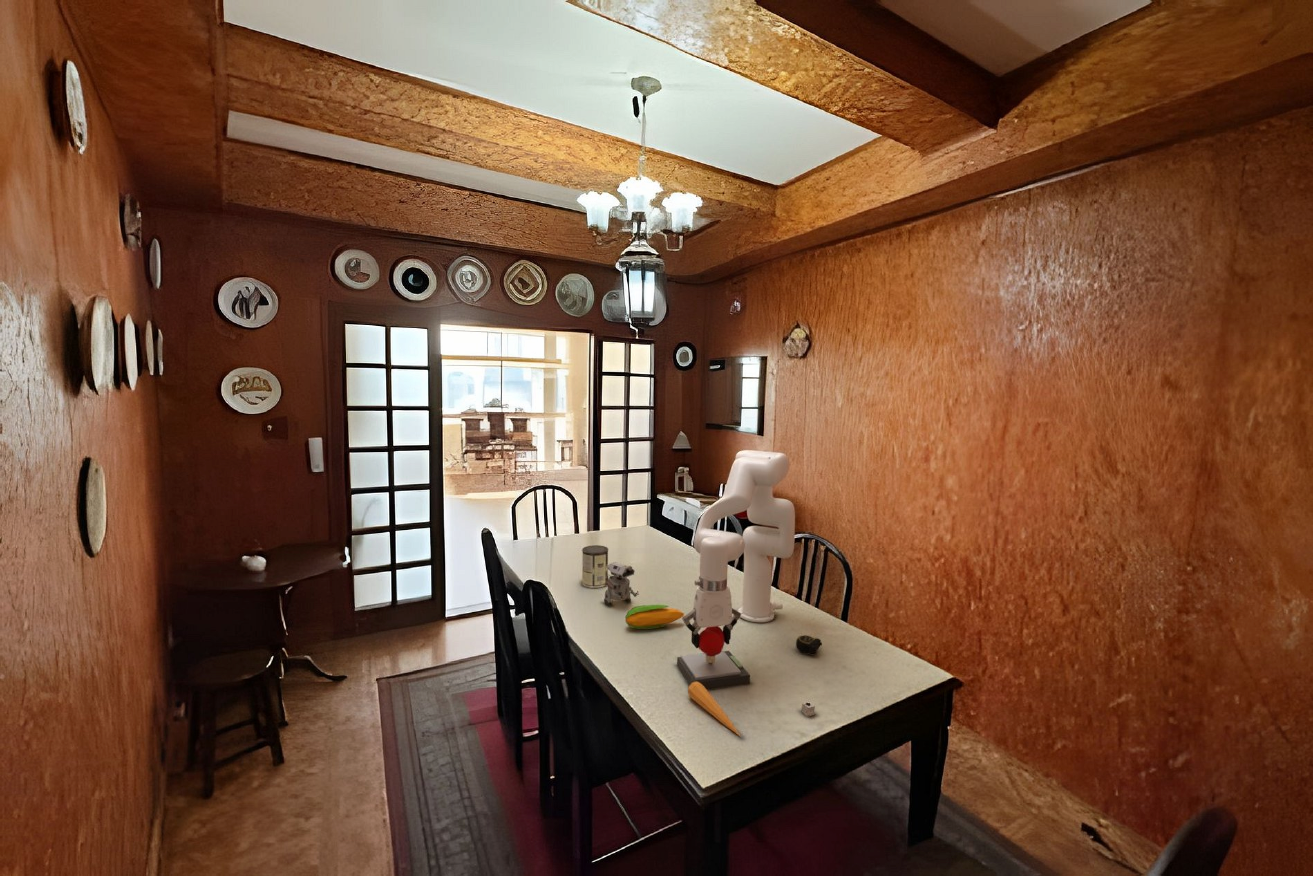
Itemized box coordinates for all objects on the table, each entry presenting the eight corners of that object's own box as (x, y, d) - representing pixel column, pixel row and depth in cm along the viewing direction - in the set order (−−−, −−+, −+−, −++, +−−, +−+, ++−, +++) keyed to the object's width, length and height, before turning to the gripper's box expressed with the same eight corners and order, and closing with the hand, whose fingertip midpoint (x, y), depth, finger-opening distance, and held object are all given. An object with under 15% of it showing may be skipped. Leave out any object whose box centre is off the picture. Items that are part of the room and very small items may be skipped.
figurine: (615, 613, 194) (616, 571, 192) (602, 601, 204) (602, 561, 202) (638, 608, 198) (639, 567, 197) (624, 597, 208) (625, 558, 207)
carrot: (687, 698, 144) (683, 685, 142) (701, 688, 145) (697, 675, 144) (735, 750, 127) (731, 736, 125) (750, 738, 129) (747, 724, 127)
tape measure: (814, 659, 165) (815, 647, 164) (792, 652, 168) (793, 640, 168) (821, 650, 170) (822, 638, 170) (799, 643, 174) (800, 632, 174)
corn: (623, 602, 184) (680, 597, 189) (622, 623, 185) (679, 618, 190) (628, 613, 176) (687, 607, 182) (627, 635, 178) (686, 628, 183)
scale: (728, 658, 164) (728, 648, 163) (749, 683, 150) (750, 672, 150) (677, 665, 159) (677, 654, 159) (694, 691, 146) (694, 679, 145)
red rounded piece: (714, 674, 148) (715, 638, 147) (691, 666, 152) (692, 631, 151) (728, 659, 156) (730, 625, 155) (706, 652, 160) (707, 619, 159)
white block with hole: (801, 712, 138) (802, 702, 138) (808, 710, 139) (808, 700, 139) (807, 716, 136) (808, 707, 136) (814, 714, 137) (814, 704, 137)
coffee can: (592, 577, 228) (593, 543, 227) (613, 582, 223) (613, 548, 222) (576, 584, 220) (576, 549, 218) (596, 590, 214) (597, 554, 213)
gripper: (687, 591, 146) (685, 654, 147) (748, 585, 151) (745, 646, 152) (678, 581, 153) (676, 641, 155) (736, 576, 158) (734, 634, 160)
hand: (710, 644), depth 153 cm, fingers closed on red rounded piece, 8 cm apart
